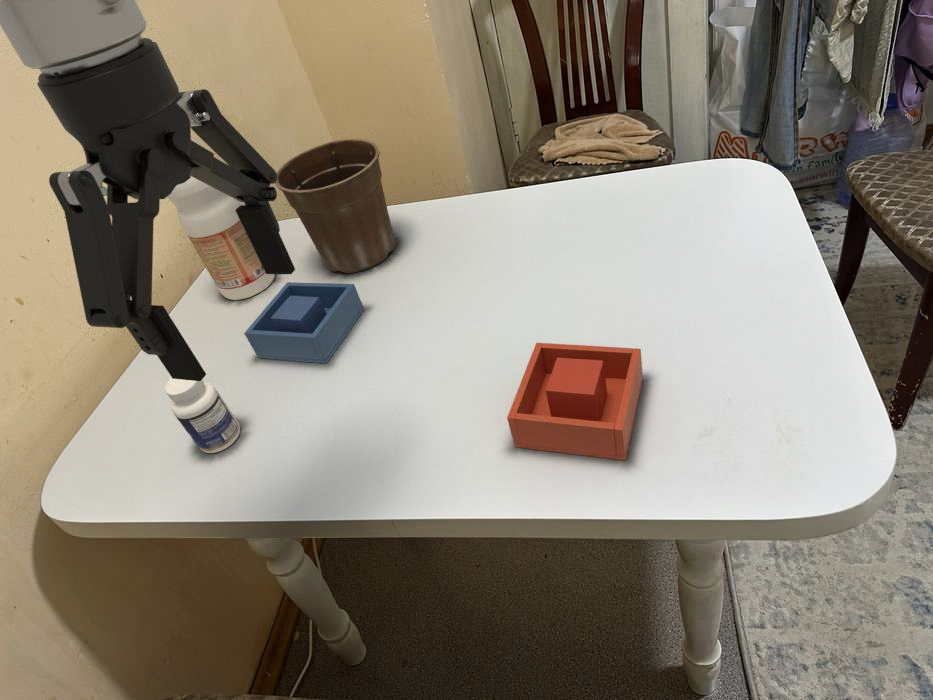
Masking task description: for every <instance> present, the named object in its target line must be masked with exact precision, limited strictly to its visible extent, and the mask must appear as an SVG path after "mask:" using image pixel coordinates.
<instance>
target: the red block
mask: <svg viewBox="0 0 933 700" xmlns="http://www.w3.org/2000/svg"><path fill="white" fill-rule="evenodd" d="M546 395H547V400H548V405H549V409H550V414H551V417H560V418H570V419H579V420H589V421H599V422H600V420H601V417H602V413H603V409H604V405H605V401H606V397H607V387H606V378H605V370H604V362H603V361H601V360H586V359H571V358H557V359H556V362H555V365H554V368H553V371H552V373H551V376H550V379H549V382H548V385H547V388H546Z"/></svg>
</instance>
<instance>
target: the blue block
mask: <svg viewBox="0 0 933 700" xmlns="http://www.w3.org/2000/svg"><path fill="white" fill-rule="evenodd" d="M326 315H327V314H326V312H325V309H324V307H323V305H322V303H321V301H320V299H319V297H305V296H289V298H288V299H287V300H286V301H285V302H284V303H283V304H282V306H281V307H280V308H279V309H278V310H277V311H276V313H275V314H274V315H273V316H272V317H271V319H272V321H273V323H274V325H275V327H276V329H277V331H278V332H293V333H309V334H313V332H314V331H315V330H316V328H317V327H318V326H319V324H320V323H321V321H322V320H323V319H324V317H325V316H326Z"/></svg>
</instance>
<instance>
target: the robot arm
mask: <svg viewBox="0 0 933 700" xmlns="http://www.w3.org/2000/svg"><path fill="white" fill-rule="evenodd" d="M0 28H1V29H2V31H3V33H4V34H5V36H6V38H7V39H8V41H9V42H10V44H11V46H12V47H13V49H14V51H15V52H16V54H17V55H18V58H19V59H20V61H21V62H22V64H23V66H24V67H27V68H29V69H31V70H39V71H40V72H41V73H40V74H39V75H38V77H37V87H38V88H39V90H40V92H41V93H42V95H43V96H44V98H45V100H46V101H47V103H48V105H49V106H50V108H51V110H52V111H53V112H54V115H55V116H56V118H57V119H58V121H59V122H60V124H61V126H62V127H63V128H64V130H65V131H66V132H67V133H68V134H69V135H70V136H72V137H73V138H74V139H75V140H76V141H77V142H78V143H79V144H80V145H81V147H82V149H83V151H84V156H85V161H86V163H85V164H83V165H81V166H79V167H76V168H74V169H72V170H69V171H55V172H52V173H51V174H50V175H49V178H48V184H49V186H50V188H51V190H52V192H53V193H54V195H55V197H56V199H57V201H58V204H59V205H60V206H61V208H62V210H63V212H64V215H65V216H64V217H65V222H66V226H67V231H68V237H69V241H70V246H71V252H72V256H73V261H74V266H75V271H76V277H77V280H78V286H79V291H80V296H81V301H82V305H83V306H82V307H83V310H84V311H83V312H84V316H85V319H86V322H87V324H88V326H90V327H93V328H112V329H113V328H114V329H123V328H126V329H127V330H128V332H129V333H130V334H131V336H132V338H133V339H134V340H135V342H136V344H137V345H138V346H139V348H140V350H141V351H142V352H144V353H146V354H147V355H152V356H156V357H158V359H159V361H160V362H161V363H162V365H163V366H164V369H166V371H167V373H168V374H169V375H170V377H171V378H173V379H181V380H192V381H201V380H204V378H205V377H206V376H207V373H206V371H205V369H204V368H203V366H202V365H201V363H200V362H199V361H198V359H197V357H196V355H195V354H194V351H192V349H191V347H190V346H189V344H188V343H187V341H186V339H185V338H184V336H183V334H182V333H181V332H180V330H179V329H178V326H176V324H175V322H174V321H173V318H171V316H170V314H169V313H168V311H167V309H166V308H165V306H164V305H157V304H152V303H153V302H152V301H153V299H152V298H153V262H154V261H153V260H154V259H153V257H154V220H155V218H156V217H157V216H158V215H159V213H160V201H161V200H165V199H166V198H168V197H167V196H169V195H170V194H171V193H172V191H173V190H174V188H175V187H176V185H179V184H182V183H185V182H186V181H187V180H188V179H190V178H191V176H192V177H194V178H196V179H198V180H200V181H201V182H203V183H205V184H207V185H209V186H211V187H213V188H215V189H217V190H219V191H221V192H223V193H225V194H227V195H228V196H230V197H232V198H234V199H236V200H238V201H240V202H241V203H244V205H243V204H242V205H240V206H239V207H238V208H237V209H236V210H235V211H236V213H237V215H238V217H239V219H240V221H241V223H242V225H243V227H244V229H245V231H246V233H247V235H248V237H249V239H250V242H251V244H252V246H253V248H254V250H255V252H256V254H257V256H258V258H259V260H260V262H261V264H262V266H263V268H264V270H265V272H266V274H275V275H293V274H294V272H295V271H296V268H295V265H294V263H293V260H292V258H291V256H290V254H289V251H288V250H287V247H286V245H285V243H284V241H283V239H282V237H281V233H280V232H281V229H280V224H279V221H278V219H277V218H276V215H275V213H274V210H273V208H272V207H271V203H270V202H275V201H276V200H277V196H278V193H277V188H275V187H274V186H271V185H272V184H273V185H275V183H276V181H277V174H276V173H277V171H276V170H275V169H274V168H273V167H272V166H271V165H270V164H269V163H268V161H267V160H265V158H264V157H263V156H262V155H261V154H260V153H259V152H258V151H257V150H256V149H255V148H254V147H253V146H252V145H251V144H250V143H249V141H248V140H247V139H246V138H245V137H244V136H243V135H242V134H241V133H240V132H239V131H238V130H237V129H236V128H235V127H234V126H233V124H232V123H231V122H229V121H228V120H227V118H226V117H225V116H224V115H223V114H222V112H221V111H220V109H219V106H218V105H217V103H216V101H215V99H214V98H213V95H212V94H211V92H210V91H209V90H207V89H205V88H202V89H195V90H194V89H193V90H186V91H180V89H179V86H178V84H177V82H176V80H175V78H174V76H173V74H172V72H171V69H170V68H169V65H168V63H167V61H166V59H165V57H164V55H163V53H162V51H161V49H160V47H159V45H158V43H157V42H155V41H153V40H152V39H151V38H149V37H143V36H142V34H143V33H144V32H145V31H146V30H147V21H146V19H145V17H144V16H143V13H142V11H141V9H140V7H139V5H138V3H137V1H136V0H0ZM191 130H192V131H193V132H194V133H195V134H196V136H198V138H200V139H201V140H202V141H203V142H204V143H205V144H206V145H207V147H209V148H210V149H211V150H212V151H213V152H212V151H211V150H209V149H207V148H205V147H204V146H202V145H200V144H199V143H198V142H197V143H198V144H197V143H195V142H193V141H192V140H191V137H192V134H191ZM215 154H216V155H217V156H218V157H219V158H220V159H222V160H223V161H222V160H220V159H218V158H217V157H215ZM103 184H105V185H106V186H104V185H103ZM105 197H106V199H105ZM129 197H130V198H132V199H134V200H136V201H135V202H128V201H129Z"/></svg>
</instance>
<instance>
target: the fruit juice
mask: <svg viewBox="0 0 933 700" xmlns="http://www.w3.org/2000/svg"><path fill="white" fill-rule="evenodd" d="M191 140H192V141H193V142H195V143H197V144H199V143H198V142H197V141H196V140H195V139H194V138H193V137H192V136H191ZM166 198H167V199H168V200H169V201H170V202H171V203H172V204H173V205H174V206H175V208H176V210H177V217H178V220H179V222H180V224H181V226H182V229H183V230H184V233H185V234H186V236H187V238H188V239H189V240H190V242H191V244H192V246H193V247H194V249H195V251H196V253H197V255H198V256H199V258H200V260H201V262H202V263H203V265H204V267H205V269H206V271H207V272H208V274H209V276H210V277H211V280H212V281H213V283H214V285H215V287H216V288H217V289H218V291H219V293H220V294H221V296H223V297H224V298H225V299H228V300H231V301H238V300H243V299H244V300H245V299H248V298H251V297H253V296H256V295H257V294H259V293H261V292H263V291H265V289H267V288H268V287H269V286H270V285H271V284H272V283H273V281H274V280H275V276H276V274H266V272H265V270H264V268H263V266H262V264H261V262H260V260H259V258H258V256H257V254H256V252H255V250H254V248H253V246H252V244H251V242H250V239H249V237H248V235H247V233H246V231H245V229H244V227H243V225H242V223H241V221H240V219H239V217H238V215H237V213H236V211H235V210H236V209H237V208H238V207H239V206H240V205H243V202H240V201H238V200H236V199H234V198H232V197H230V196H228V195H227V194H225V193H223V192H221V191H219V190H217V189H215V188H213V187H211V186H209V185H207V184H205V183H203V182H201V181H200V180H198V179H196V178H194V177H192V176H191V178H190V179H188V180H187V181H186V182H185V183H182V184H179V185H176V187H175V188H174V190H173V191H172V193H171V194H170V195H169V196H167V197H166Z"/></svg>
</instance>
